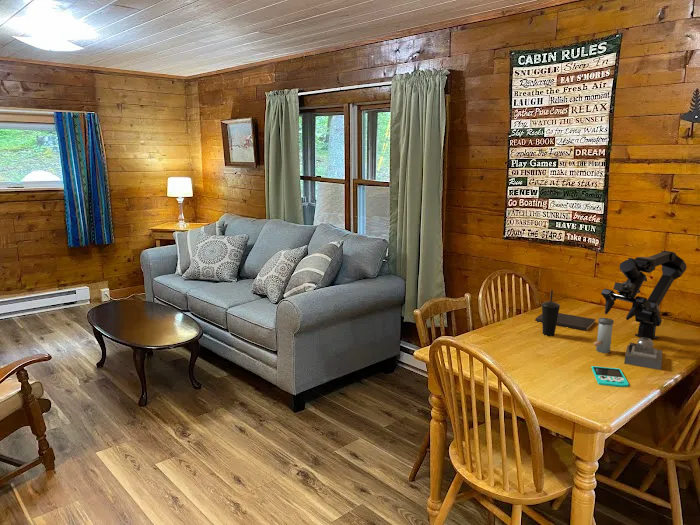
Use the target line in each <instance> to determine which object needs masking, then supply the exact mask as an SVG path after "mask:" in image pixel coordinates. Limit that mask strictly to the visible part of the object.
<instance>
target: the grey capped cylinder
mask: <svg viewBox="0 0 700 525" xmlns="http://www.w3.org/2000/svg"><path fill="white" fill-rule="evenodd" d="M597 321H598V328H597V329H598V330H597V335H596V336H597V338H596V339H597V340H596V341H595V342H593V345H594V346H595V347H596V349H595V351H596V352H597V351H598V353H600V352H601V354H609V352H610V353H611V343H612V333H613V325H614V322H615V321H614V319H612V318H608V317H607V318H606V317H599V318H598V320H597Z"/></svg>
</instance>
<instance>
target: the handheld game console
mask: <svg viewBox="0 0 700 525" xmlns="http://www.w3.org/2000/svg"><path fill="white" fill-rule="evenodd" d="M591 368H592V369H591V371H592V373H593V375H594V378H595V380H596V382H597V384H598V385H599V386H609V387H618V388H627V387H629V385H630V383H629V382H628V379H627V378H626V376H625V375H624V373H623V371H622V369H621V368H616V367H605V366H597V365H596V366H595V365H594V366H593V365H592V366H591Z"/></svg>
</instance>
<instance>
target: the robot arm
mask: <svg viewBox="0 0 700 525" xmlns="http://www.w3.org/2000/svg"><path fill="white" fill-rule="evenodd" d="M658 266H661V273H662V274H661V276H660V277H659V280H658V281H657V283H656V285H655V286H654V288H653V290H652V291H651V293H650V294H649V297H648V298H647V297H644V296H640V295H638V296H637V294H640V293H641V290H640V289H641V288H642V285H643V284H644V282H647V281H648V278H647V275H646V274H650V273H652V272H654V271H655V270H656V268H657V267H658ZM618 267H619V270H620V271H621V273H622V274H623V275H624V276H625V277H626V278H627V279H626V281H623V282H618V281H617V282H616V281H615V283H614V285H613V288H612V289H609V288H603V289H602V291H601V292H600V295H601V296H603V298H604V299H605V306H604V308H605V309H604V315H608V314H609V312H610V311H611V310H612V308H613V306H614V305H615V304H616V303H615V302H616V301H617V300H618V301H624V302H628V303H632V304H631V305H632V306H631V308H630V309H629V312H628V313H627V315H626V316H625V320H626V321H629V320H630V319H632V318H633V317H634V318H635V320H634V321H635V322H637V323H639V326H638V328H637V330H638V332H637V333H635V334H634V336H636V337H639V338H642V337H647V338H650V339H651V340H653V339H658V338H659V337H658V336H657V335H656V331H657V330H656V329H657V327H660V326H661V325H662V321H663V320H662V318H661V316H660V313H661V312H660V305H661V303H662V301H663V300H664V298H665V296H666V294H667V293H668V291H669V289H670V288H671V286H672V284H673V282H674V281H675V280H677V279H679V278H681V277H682V276H683V274H684V273H685V272H686V270H687V264H686V262H685V260H684V259H683V258H681V257H680V256H678V255H677V253H676V252H674V251H668V250H662V251H660V252H658V253H656V254H653V255H650V256H637V257H635V258H633V257H628V259H625V260H624V261H622V262H621V263H620V264H619V266H618ZM645 273H646V274H645ZM614 290H616V292H617V294H616V293H615V291H614Z"/></svg>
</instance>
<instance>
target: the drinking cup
mask: <svg viewBox="0 0 700 525" xmlns="http://www.w3.org/2000/svg"><path fill="white" fill-rule="evenodd" d="M553 291H554V289H553V290H552V289H551V290H550V299H549V300H550V301H549V300H548V301H544V302H541V309H542V310H541V311H542V312H541V314H542V323H541V324H542V335H543V334H544V335H543V336H545V335H547V336H546V337H554V336H555V334H556V329H557V326H556V323H557V318H558V313H560V312H559V311H560V307H561V305H560V303H558V302H555V301H553V293H554V292H553Z"/></svg>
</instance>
